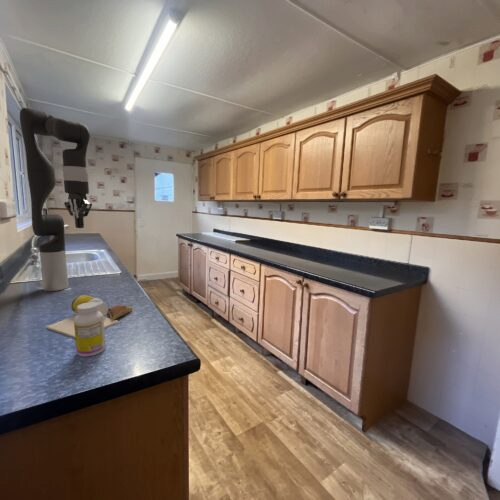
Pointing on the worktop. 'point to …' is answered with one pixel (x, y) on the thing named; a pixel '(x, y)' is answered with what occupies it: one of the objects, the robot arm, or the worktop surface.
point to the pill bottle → (85, 299)
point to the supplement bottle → (89, 330)
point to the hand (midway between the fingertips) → (79, 227)
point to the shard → (118, 311)
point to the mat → (68, 325)
